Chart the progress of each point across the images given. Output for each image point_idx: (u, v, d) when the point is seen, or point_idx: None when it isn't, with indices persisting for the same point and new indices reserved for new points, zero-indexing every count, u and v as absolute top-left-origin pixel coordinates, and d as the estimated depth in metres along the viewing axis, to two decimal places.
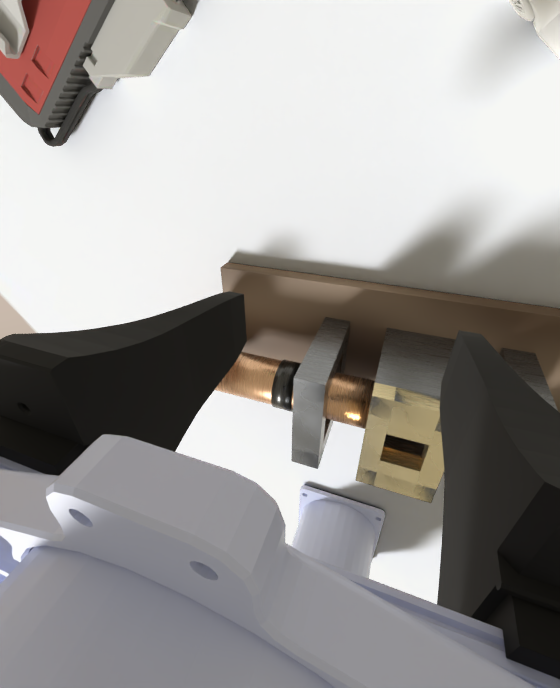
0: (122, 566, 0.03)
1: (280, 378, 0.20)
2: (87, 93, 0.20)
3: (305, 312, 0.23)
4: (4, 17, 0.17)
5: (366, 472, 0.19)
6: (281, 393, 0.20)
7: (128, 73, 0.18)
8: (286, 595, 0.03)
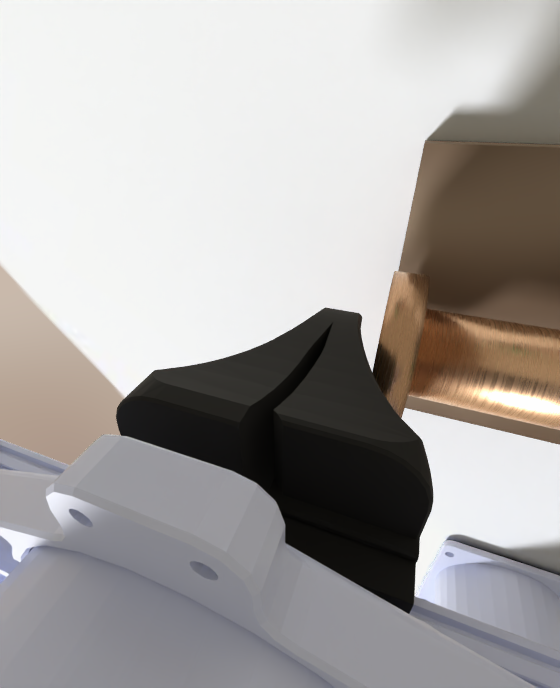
0: (122, 566, 0.03)
1: None
2: None
3: None
4: None
5: None
6: None
7: None
8: (286, 595, 0.03)
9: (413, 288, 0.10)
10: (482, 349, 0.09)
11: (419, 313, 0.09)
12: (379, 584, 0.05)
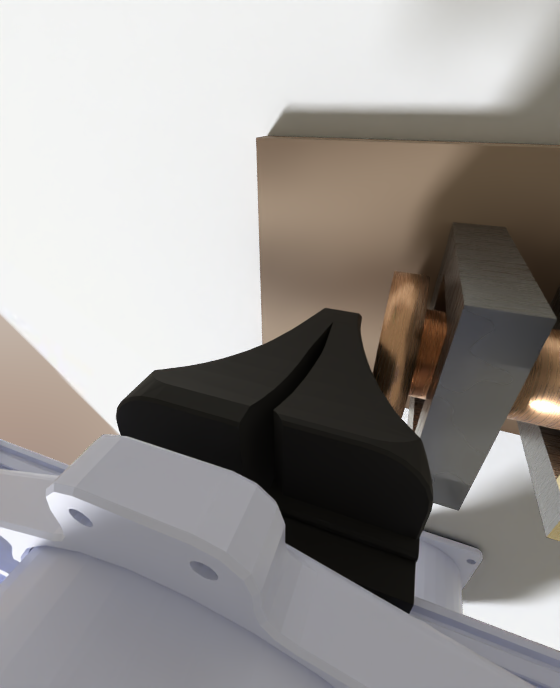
0: (122, 566, 0.03)
1: None
2: None
3: (412, 216, 0.12)
4: None
5: None
6: None
7: None
8: (286, 595, 0.03)
9: (413, 288, 0.10)
10: None
11: (419, 313, 0.09)
12: (379, 584, 0.05)
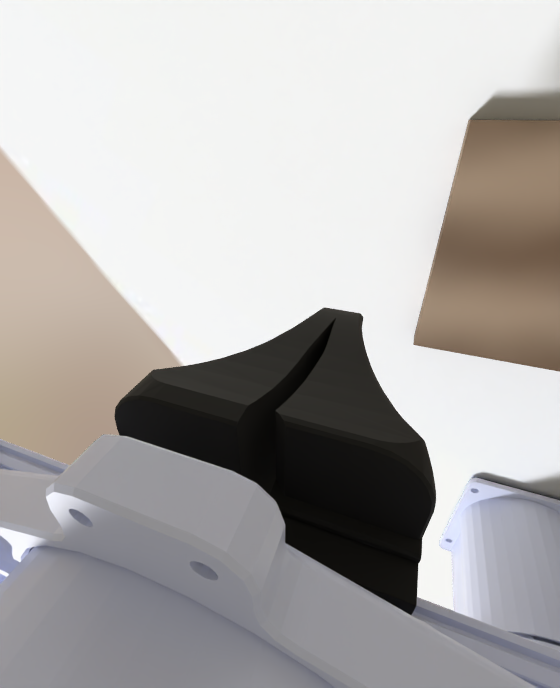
0: (122, 566, 0.03)
1: None
2: None
3: None
4: None
5: None
6: None
7: None
8: (286, 595, 0.03)
9: None
10: None
11: None
12: (381, 585, 0.05)
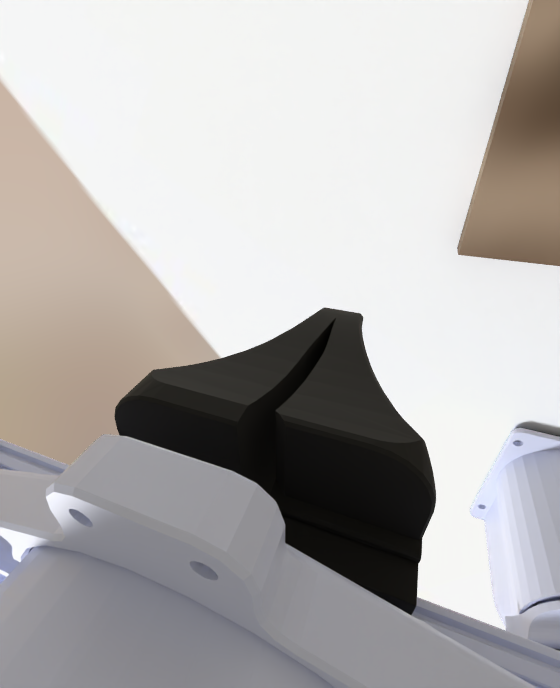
0: (122, 566, 0.03)
1: None
2: None
3: None
4: None
5: None
6: None
7: None
8: (286, 595, 0.03)
9: None
10: None
11: None
12: (381, 585, 0.05)
